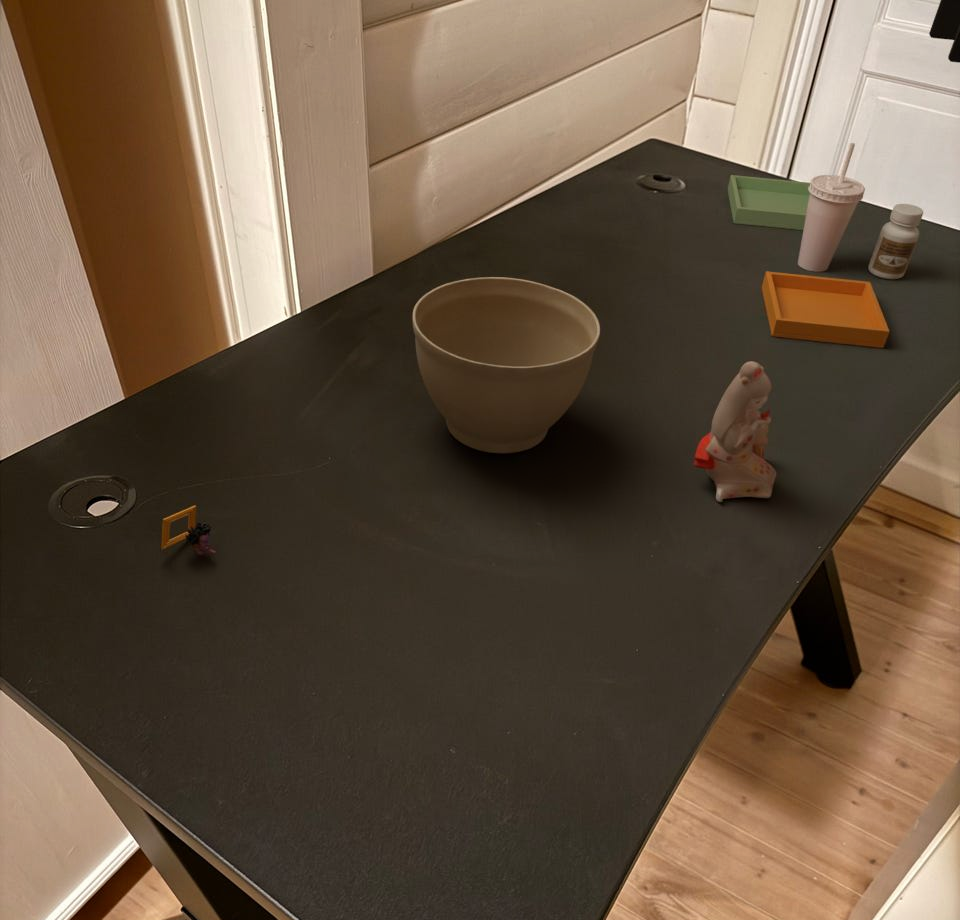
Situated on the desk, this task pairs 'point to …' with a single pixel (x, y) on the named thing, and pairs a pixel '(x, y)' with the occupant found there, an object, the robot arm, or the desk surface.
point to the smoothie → (828, 216)
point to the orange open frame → (188, 532)
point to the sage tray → (768, 202)
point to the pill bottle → (896, 242)
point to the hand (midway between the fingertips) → (952, 49)
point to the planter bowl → (503, 358)
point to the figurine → (739, 438)
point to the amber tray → (823, 309)
